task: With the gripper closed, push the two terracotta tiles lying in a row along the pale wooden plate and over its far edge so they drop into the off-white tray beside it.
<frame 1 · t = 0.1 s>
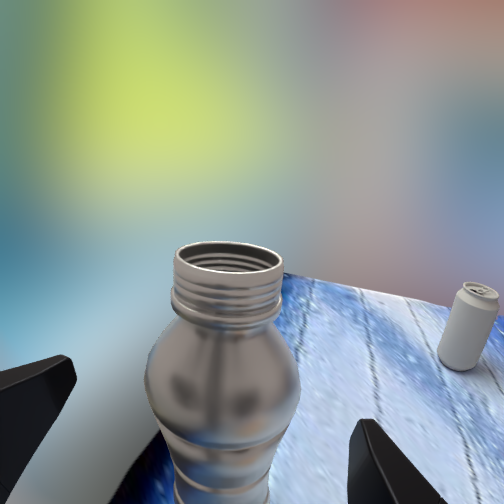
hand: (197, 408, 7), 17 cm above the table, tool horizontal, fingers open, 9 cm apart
can: (454, 361, 34), on the table
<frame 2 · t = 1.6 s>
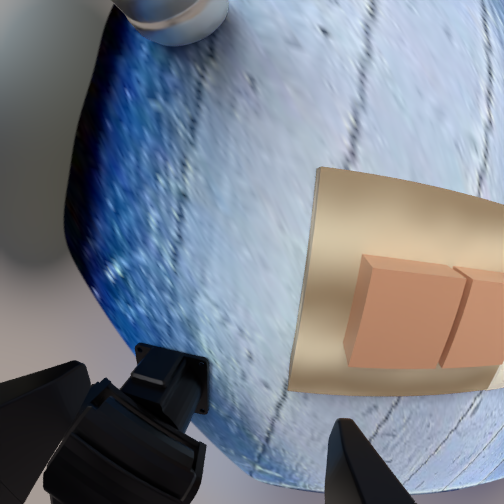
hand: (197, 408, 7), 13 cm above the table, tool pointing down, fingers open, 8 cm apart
plastic bottle: (191, 20, 16), on the table
tile 1: (396, 305, 15), point 3 cm above the table, touching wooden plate
tile 2: (473, 310, 15), point 3 cm above the table, touching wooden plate
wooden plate: (418, 288, 18), on the table
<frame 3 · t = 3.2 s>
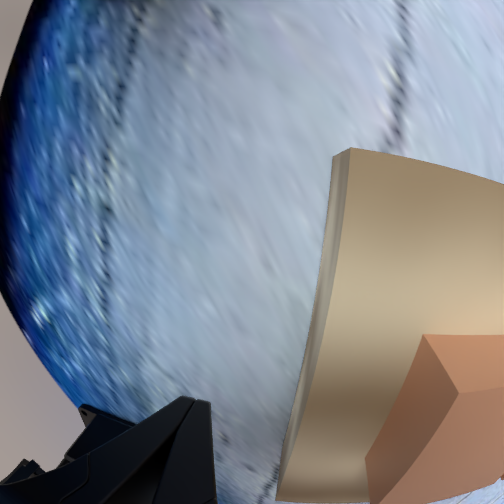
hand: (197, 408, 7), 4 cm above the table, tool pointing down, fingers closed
tile 1: (459, 403, 7), point 3 cm above the table, touching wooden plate
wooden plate: (478, 350, 10), on the table
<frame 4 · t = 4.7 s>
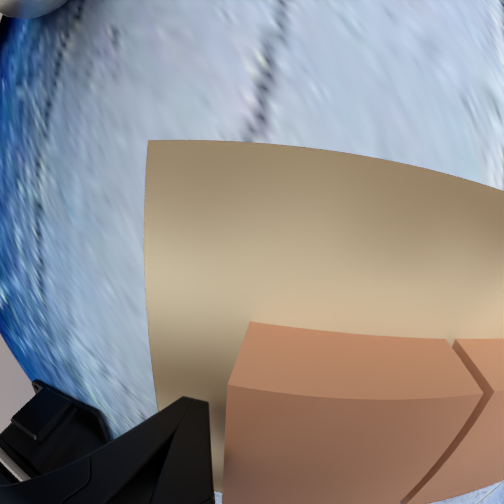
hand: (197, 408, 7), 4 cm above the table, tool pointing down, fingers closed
tile 1: (332, 409, 8), point 3 cm above the table, touching gripper, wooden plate
tile 2: (480, 403, 7), point 3 cm above the table, touching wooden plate
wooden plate: (392, 353, 11), on the table
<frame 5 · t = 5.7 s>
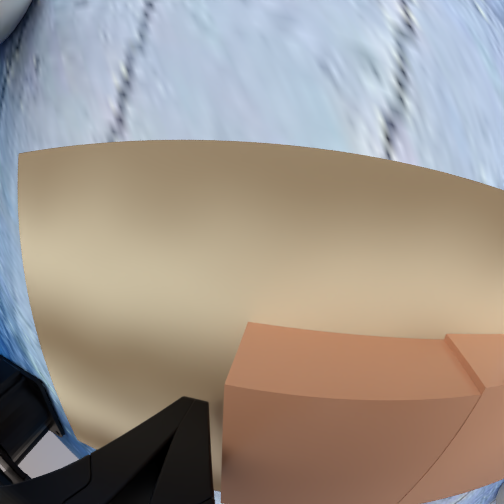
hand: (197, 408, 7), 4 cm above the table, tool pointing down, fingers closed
plastic bottle: (17, 15, 9), on the table
tile 1: (331, 409, 8), point 4 cm above the table, touching tile 2, gripper
tile 2: (475, 400, 7), point 4 cm above the table, touching tile 1
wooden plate: (257, 339, 11), on the table
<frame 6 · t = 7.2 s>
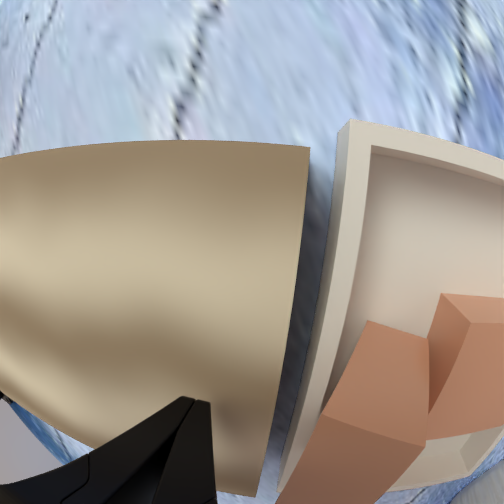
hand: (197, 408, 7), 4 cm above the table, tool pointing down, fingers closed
tile 1: (324, 419, 8), point 3 cm above the table, tilted 68°
ramekin: (494, 478, 13), on the table
tile 2: (493, 386, 7), point 3 cm above the table, tilted 180°, touching tray
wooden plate: (100, 306, 12), on the table
tray: (438, 352, 10), on the table
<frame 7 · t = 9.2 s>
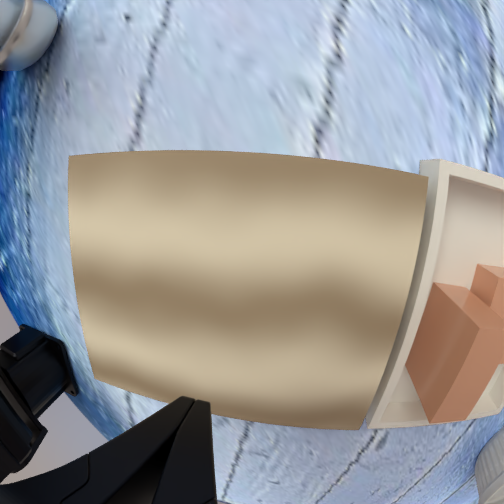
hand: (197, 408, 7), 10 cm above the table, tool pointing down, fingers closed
plastic bottle: (42, 41, 14), on the table
tile 1: (435, 349, 12), point 3 cm above the table, tilted 90°, touching tray
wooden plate: (232, 284, 17), on the table
tray: (474, 307, 14), on the table
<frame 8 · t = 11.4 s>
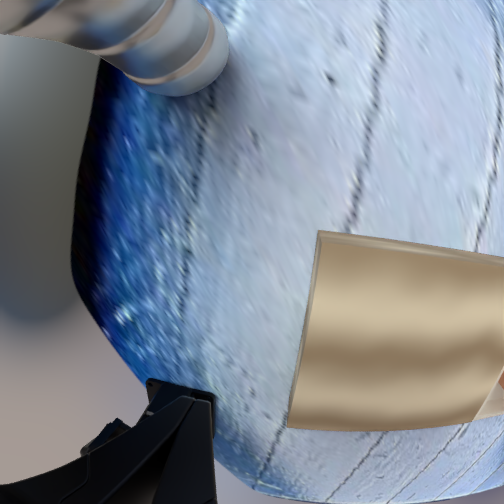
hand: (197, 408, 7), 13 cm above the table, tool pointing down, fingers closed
plastic bottle: (189, 62, 17), on the table
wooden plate: (411, 335, 19), on the table
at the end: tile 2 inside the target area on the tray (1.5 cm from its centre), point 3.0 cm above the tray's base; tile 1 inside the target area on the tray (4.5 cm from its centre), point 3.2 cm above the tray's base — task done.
